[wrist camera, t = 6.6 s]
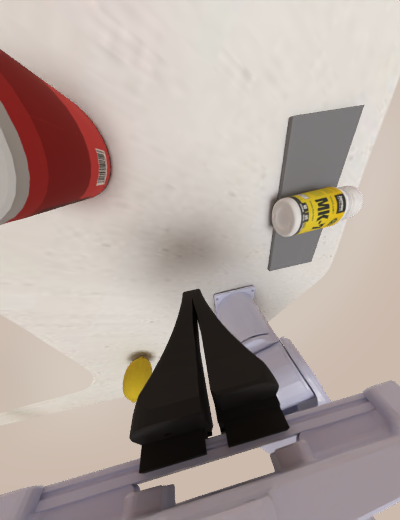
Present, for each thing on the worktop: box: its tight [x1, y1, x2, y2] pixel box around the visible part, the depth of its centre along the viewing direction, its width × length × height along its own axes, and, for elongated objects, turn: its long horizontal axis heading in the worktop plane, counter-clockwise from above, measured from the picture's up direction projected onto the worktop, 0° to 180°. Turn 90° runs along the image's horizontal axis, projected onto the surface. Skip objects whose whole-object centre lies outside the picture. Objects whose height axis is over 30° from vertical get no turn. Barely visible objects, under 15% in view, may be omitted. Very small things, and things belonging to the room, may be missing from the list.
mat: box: [268, 105, 364, 271], centre depth 20 cm, size 20×8×1 cm, turn 9°
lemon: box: [123, 356, 152, 402], centre depth 30 cm, size 6×6×8 cm
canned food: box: [0, 49, 111, 225], centre depth 9 cm, size 8×8×11 cm
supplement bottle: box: [272, 186, 363, 237], centre depth 18 cm, size 5×5×8 cm
